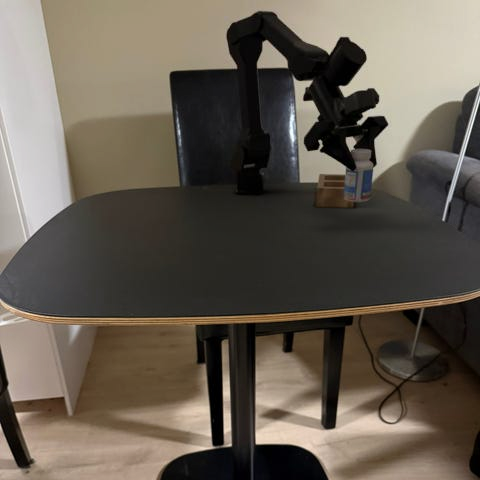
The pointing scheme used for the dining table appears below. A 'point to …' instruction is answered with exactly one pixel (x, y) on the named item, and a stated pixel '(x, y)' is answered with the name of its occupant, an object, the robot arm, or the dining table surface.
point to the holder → (332, 191)
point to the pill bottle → (359, 177)
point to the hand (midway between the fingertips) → (364, 167)
